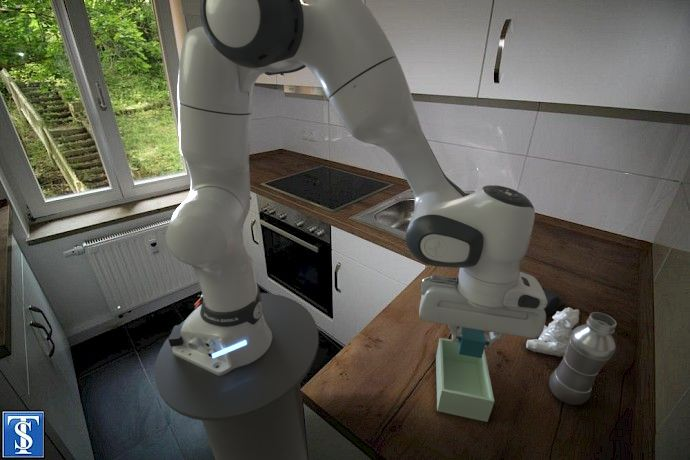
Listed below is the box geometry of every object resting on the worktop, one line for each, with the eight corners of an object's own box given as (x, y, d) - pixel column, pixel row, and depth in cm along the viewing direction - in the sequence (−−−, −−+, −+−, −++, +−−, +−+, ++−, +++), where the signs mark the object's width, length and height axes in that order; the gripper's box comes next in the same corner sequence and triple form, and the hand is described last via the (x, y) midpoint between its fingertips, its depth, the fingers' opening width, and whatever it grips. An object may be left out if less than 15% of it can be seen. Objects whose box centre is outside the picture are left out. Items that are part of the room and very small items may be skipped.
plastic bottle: (541, 377, 66) (573, 304, 57) (576, 383, 65) (615, 309, 56) (552, 406, 61) (589, 329, 51) (591, 413, 59) (637, 336, 50)
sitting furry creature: (535, 326, 79) (549, 288, 74) (575, 344, 74) (593, 305, 69) (523, 348, 73) (538, 308, 68) (566, 369, 68) (586, 328, 62)
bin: (441, 390, 57) (494, 401, 55) (439, 337, 68) (483, 345, 66) (437, 411, 60) (487, 422, 58) (435, 356, 71) (478, 364, 69)
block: (458, 354, 58) (462, 338, 56) (457, 338, 62) (460, 323, 60) (481, 358, 57) (486, 342, 56) (478, 342, 61) (482, 326, 59)
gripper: (421, 284, 52) (413, 345, 58) (559, 303, 48) (534, 366, 54) (422, 264, 57) (414, 321, 64) (546, 279, 53) (524, 338, 59)
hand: (470, 342), depth 59 cm, fingers closed on block, 4 cm apart
